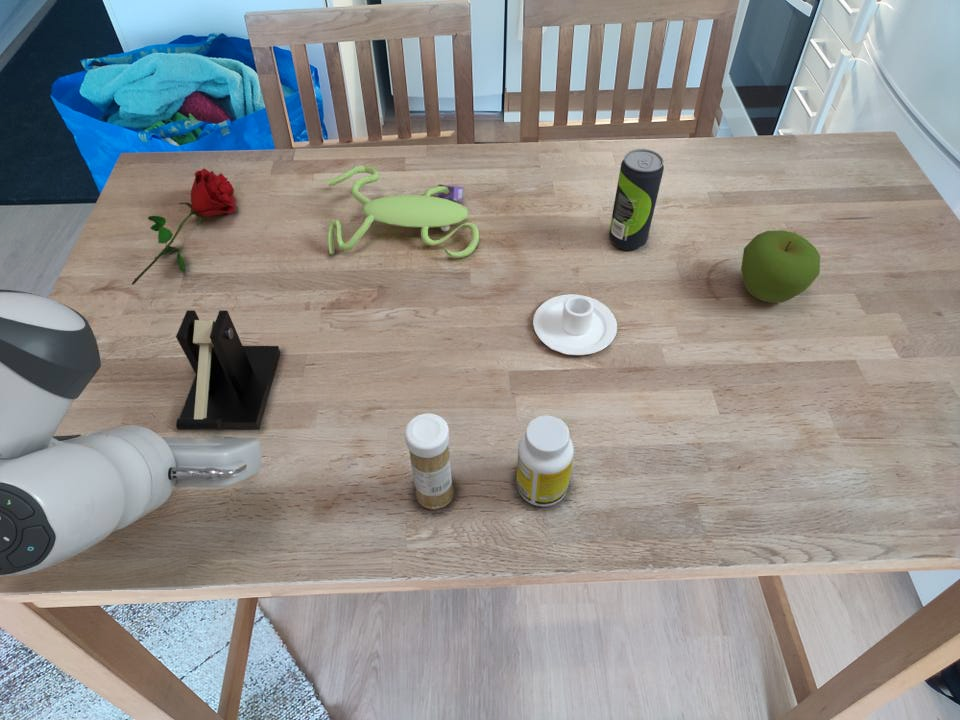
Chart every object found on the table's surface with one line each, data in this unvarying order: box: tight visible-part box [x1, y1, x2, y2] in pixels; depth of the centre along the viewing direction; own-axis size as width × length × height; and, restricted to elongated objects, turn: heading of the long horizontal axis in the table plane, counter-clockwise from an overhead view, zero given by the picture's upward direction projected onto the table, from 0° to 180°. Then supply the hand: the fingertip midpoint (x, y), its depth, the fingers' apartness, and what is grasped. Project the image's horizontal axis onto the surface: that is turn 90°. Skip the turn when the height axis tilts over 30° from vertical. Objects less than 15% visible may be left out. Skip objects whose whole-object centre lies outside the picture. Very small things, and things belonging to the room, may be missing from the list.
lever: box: [175, 319, 223, 431], centre depth 79 cm, size 13×5×2 cm
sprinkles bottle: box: [404, 412, 455, 511], centre depth 73 cm, size 5×5×13 cm
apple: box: [740, 230, 821, 304], centre depth 96 cm, size 11×10×10 cm
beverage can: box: [608, 148, 665, 251], centre depth 102 cm, size 6×6×15 cm
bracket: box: [175, 309, 281, 430], centre depth 84 cm, size 13×10×13 cm
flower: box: [131, 168, 237, 286], centre depth 105 cm, size 9×10×30 cm
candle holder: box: [532, 293, 618, 356], centre depth 94 cm, size 12×12×4 cm
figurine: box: [327, 165, 480, 259], centre depth 109 cm, size 18×27×6 cm
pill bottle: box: [516, 414, 575, 508], centre depth 74 cm, size 6×6×11 cm
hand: (191, 444), depth 75 cm, fingers open, 8 cm apart
